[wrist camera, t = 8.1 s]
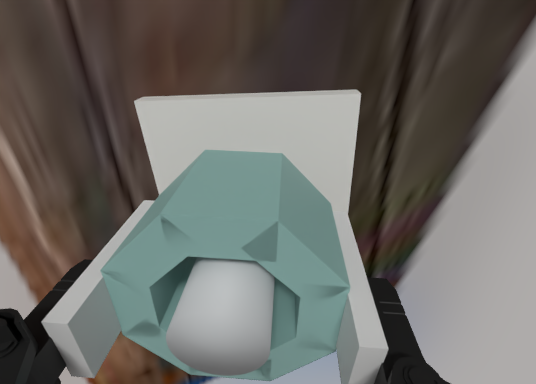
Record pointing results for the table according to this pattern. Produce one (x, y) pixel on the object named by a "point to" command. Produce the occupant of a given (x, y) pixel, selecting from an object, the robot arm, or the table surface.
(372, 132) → the table surface
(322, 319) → the ring
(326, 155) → the plate with round peg
